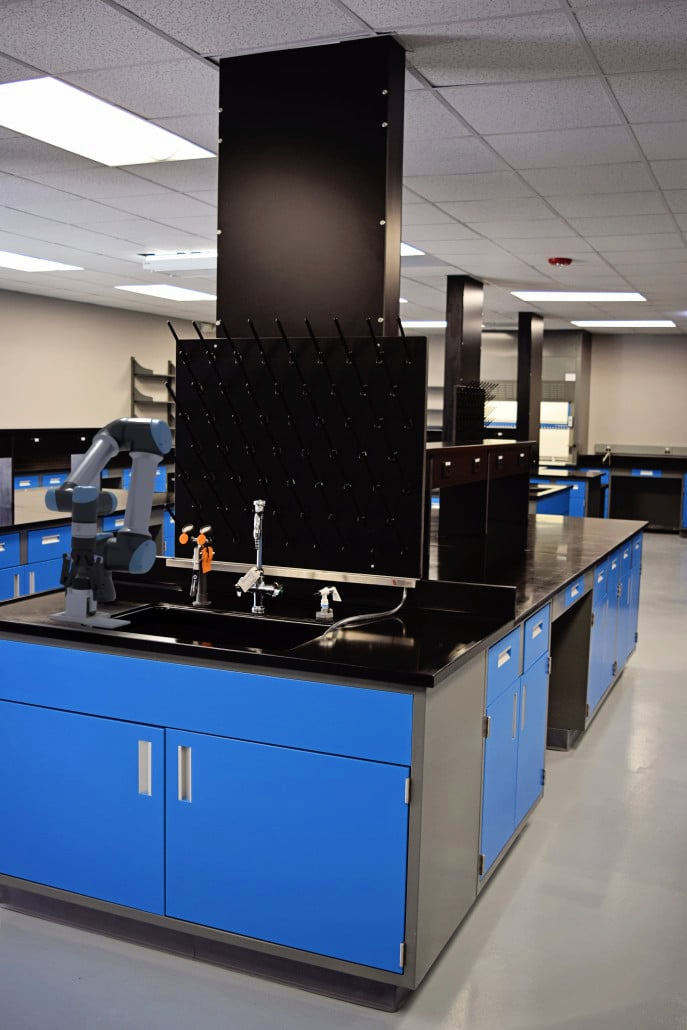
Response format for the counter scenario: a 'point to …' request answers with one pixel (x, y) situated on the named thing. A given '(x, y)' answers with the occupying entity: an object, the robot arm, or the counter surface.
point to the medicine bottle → (79, 599)
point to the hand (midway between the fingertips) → (81, 609)
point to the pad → (106, 622)
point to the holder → (79, 620)
